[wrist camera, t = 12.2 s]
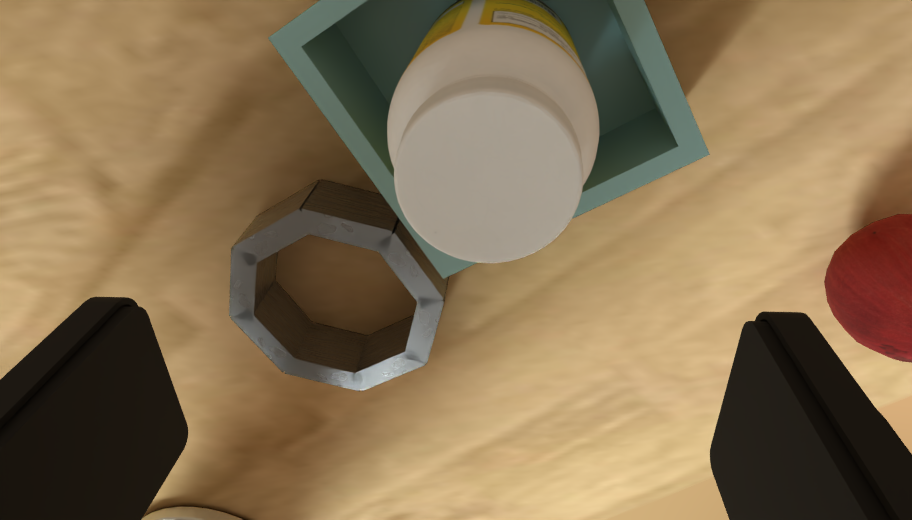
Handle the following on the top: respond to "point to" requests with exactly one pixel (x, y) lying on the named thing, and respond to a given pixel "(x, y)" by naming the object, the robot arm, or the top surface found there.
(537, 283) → the top surface
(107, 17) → the top surface
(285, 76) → the top surface
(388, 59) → the bin
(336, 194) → the socket collar
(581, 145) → the pill bottle
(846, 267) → the onion
